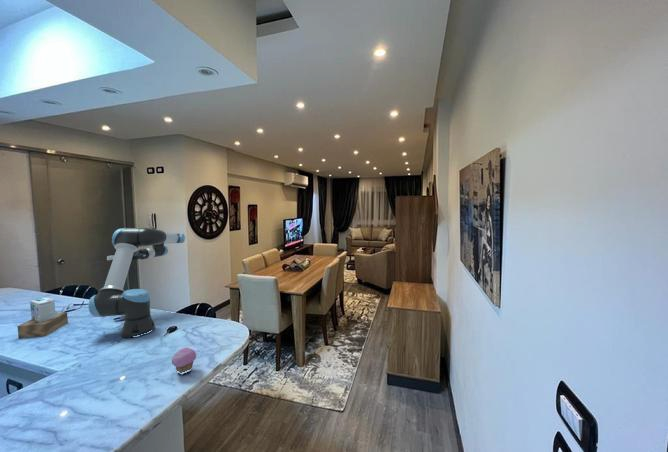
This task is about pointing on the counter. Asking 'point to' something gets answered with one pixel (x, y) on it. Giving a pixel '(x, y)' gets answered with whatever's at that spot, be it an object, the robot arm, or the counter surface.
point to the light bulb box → (42, 309)
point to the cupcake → (184, 359)
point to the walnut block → (42, 326)
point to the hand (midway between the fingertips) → (113, 259)
